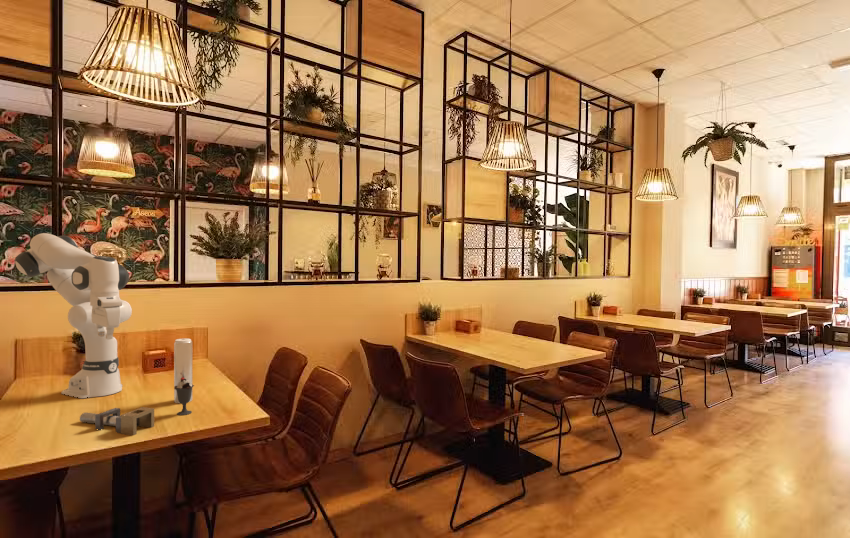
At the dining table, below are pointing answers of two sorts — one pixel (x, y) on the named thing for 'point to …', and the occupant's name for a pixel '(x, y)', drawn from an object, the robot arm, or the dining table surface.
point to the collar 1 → (100, 416)
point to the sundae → (184, 394)
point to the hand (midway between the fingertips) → (105, 337)
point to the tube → (91, 419)
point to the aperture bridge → (130, 420)
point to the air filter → (182, 363)
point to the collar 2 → (118, 423)
